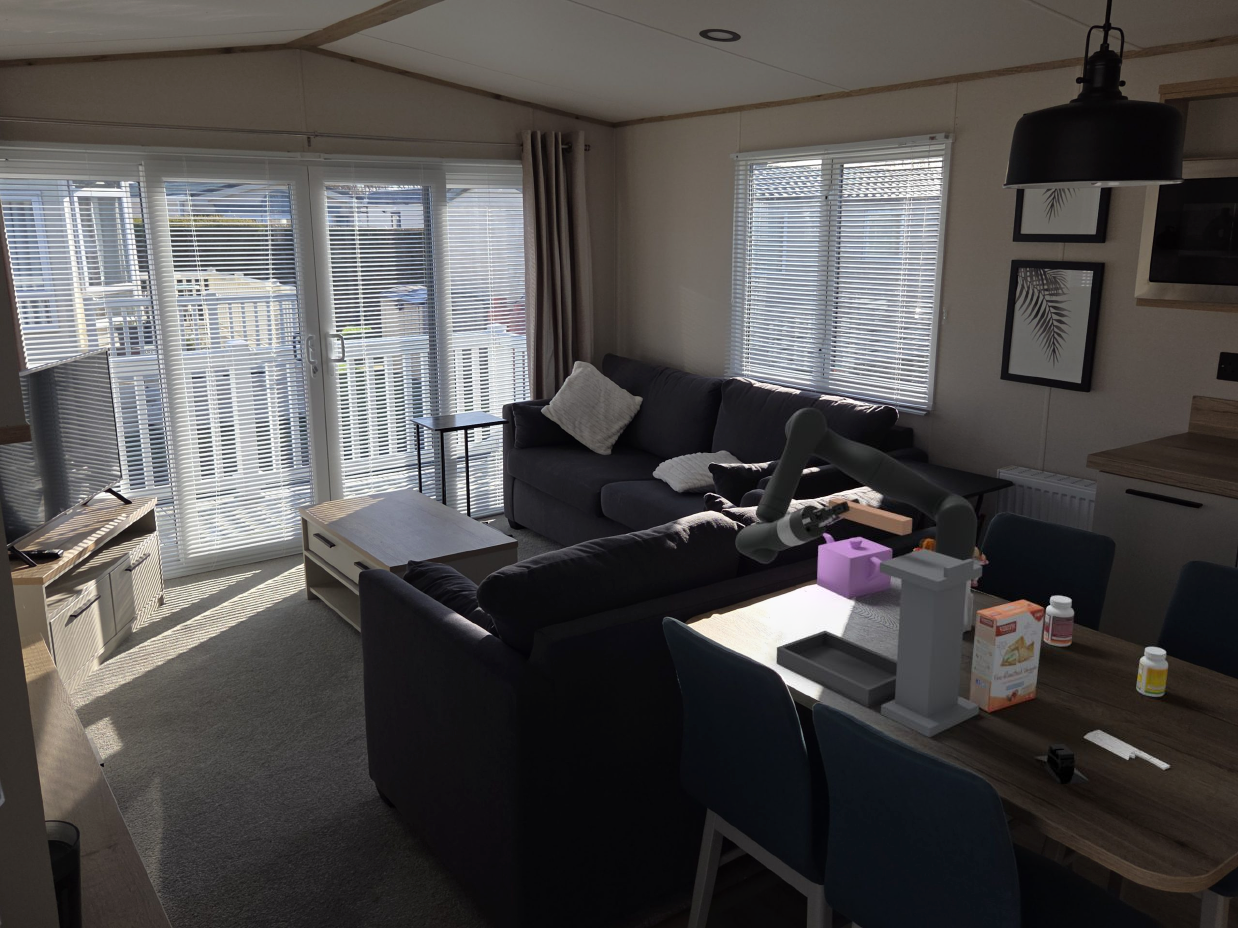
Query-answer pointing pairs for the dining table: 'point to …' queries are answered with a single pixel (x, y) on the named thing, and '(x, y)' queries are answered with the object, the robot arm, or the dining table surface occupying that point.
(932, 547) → the doll family
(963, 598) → the stand
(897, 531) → the bar
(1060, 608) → the pill bottle
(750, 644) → the dining table surface
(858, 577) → the teapot
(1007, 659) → the cracker box
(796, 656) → the tray
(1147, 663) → the supplement bottle
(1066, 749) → the black knife sharpener
